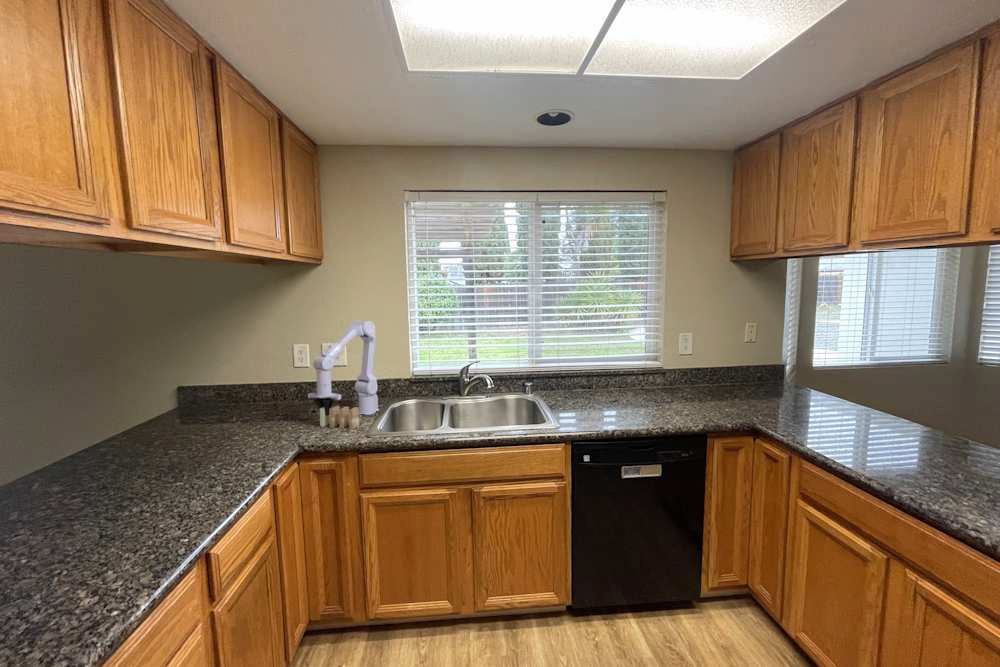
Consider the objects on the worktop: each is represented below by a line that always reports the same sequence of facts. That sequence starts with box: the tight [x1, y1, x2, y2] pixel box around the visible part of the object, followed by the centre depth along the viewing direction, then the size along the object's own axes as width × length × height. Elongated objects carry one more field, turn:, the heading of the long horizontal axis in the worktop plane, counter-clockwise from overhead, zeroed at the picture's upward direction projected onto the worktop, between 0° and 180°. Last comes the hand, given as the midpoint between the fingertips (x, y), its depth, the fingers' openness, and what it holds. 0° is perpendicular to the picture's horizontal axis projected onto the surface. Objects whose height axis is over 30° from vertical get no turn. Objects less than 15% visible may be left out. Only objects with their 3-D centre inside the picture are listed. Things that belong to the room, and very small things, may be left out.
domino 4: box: [348, 406, 360, 430], centre depth 177 cm, size 2×5×8 cm, turn 169°
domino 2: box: [329, 405, 341, 428], centre depth 179 cm, size 2×5×8 cm, turn 169°
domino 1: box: [319, 407, 330, 428], centre depth 180 cm, size 2×5×8 cm, turn 168°
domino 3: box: [339, 406, 350, 429], centre depth 178 cm, size 2×5×8 cm, turn 169°
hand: (325, 414), depth 180 cm, fingers closed on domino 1, 1 cm apart
